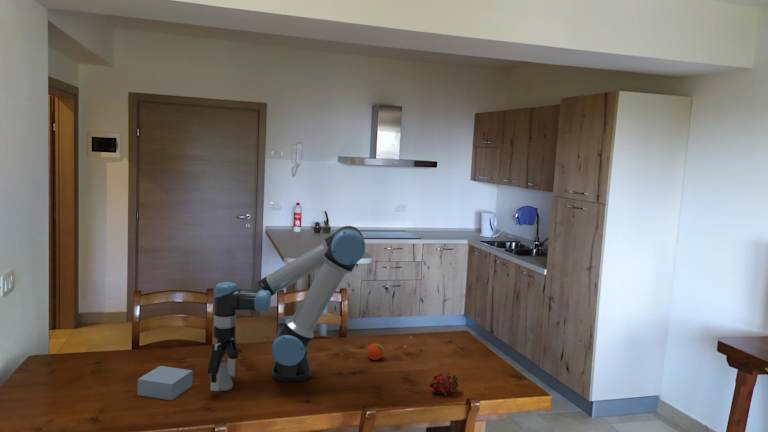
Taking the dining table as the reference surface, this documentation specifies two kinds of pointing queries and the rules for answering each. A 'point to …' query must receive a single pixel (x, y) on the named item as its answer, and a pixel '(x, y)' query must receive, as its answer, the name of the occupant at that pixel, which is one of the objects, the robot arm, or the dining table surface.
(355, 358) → the dining table surface
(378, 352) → the clementine
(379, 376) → the dining table surface
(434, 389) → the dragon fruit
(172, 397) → the grey block
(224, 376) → the flask
